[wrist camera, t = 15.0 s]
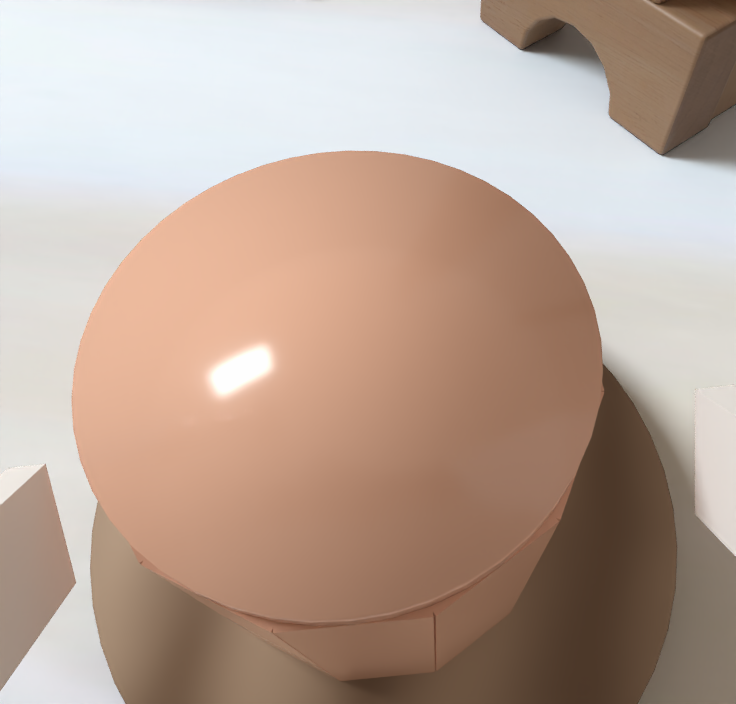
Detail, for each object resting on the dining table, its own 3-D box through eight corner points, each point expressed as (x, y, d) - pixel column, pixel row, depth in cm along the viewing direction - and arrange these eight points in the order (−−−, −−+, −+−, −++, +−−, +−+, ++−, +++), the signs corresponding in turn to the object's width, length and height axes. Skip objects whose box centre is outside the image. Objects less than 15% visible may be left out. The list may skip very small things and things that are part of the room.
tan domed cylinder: (211, 693, 21) (30, 649, 12) (221, 380, 27) (103, 179, 17) (567, 659, 21) (675, 585, 11) (503, 348, 27) (540, 125, 17)
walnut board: (73, 875, 21) (48, 884, 19) (134, 316, 31) (120, 297, 29) (751, 816, 20) (773, 821, 19) (586, 264, 30) (593, 242, 29)
